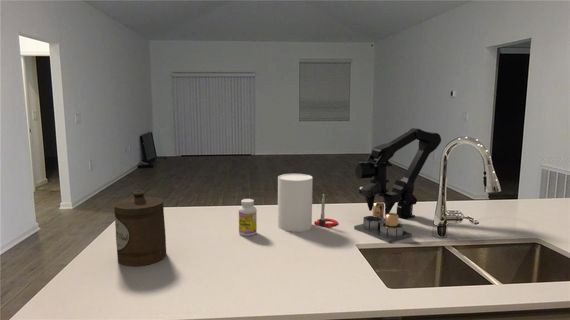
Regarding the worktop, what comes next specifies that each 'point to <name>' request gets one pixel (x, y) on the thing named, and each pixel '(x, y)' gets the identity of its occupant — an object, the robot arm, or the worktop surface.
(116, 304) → the worktop surface
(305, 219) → the canister
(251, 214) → the supplement bottle
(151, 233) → the wooden container
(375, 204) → the brass peg
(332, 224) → the tow hook
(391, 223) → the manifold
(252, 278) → the worktop surface
